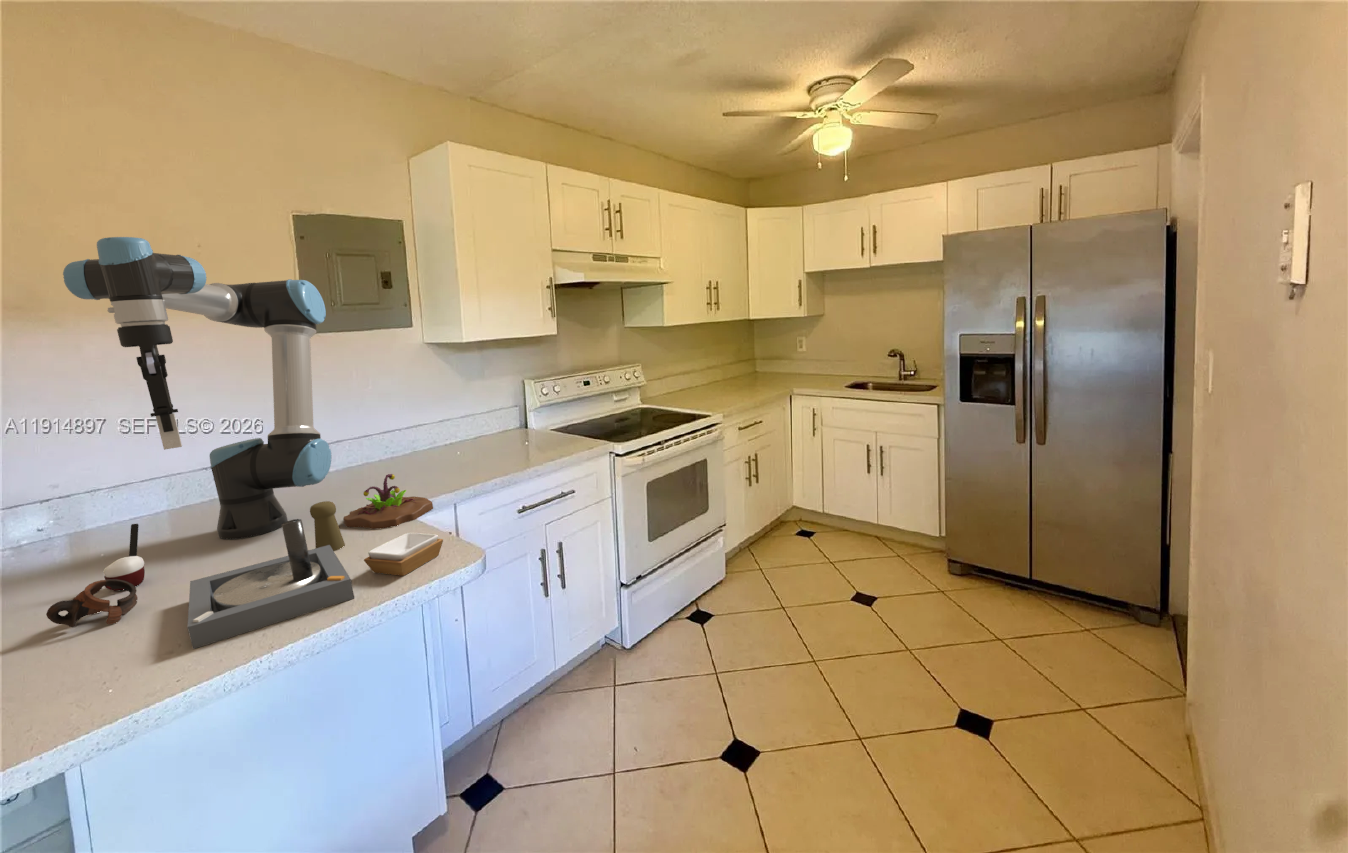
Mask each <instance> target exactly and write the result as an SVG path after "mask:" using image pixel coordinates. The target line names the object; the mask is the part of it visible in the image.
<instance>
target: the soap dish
mask: <svg viewBox="0 0 1348 853" xmlns="http://www.w3.org/2000/svg"><path fill="white" fill-rule="evenodd" d="M443 542H444V539H443V538H439V535H438V534H434V533H433V534H432V533H420V532H406V533H404V534H401V535H400V536H397V537H395V538H393V539H390V540H388V541H387V542H384V543H382V544H380V545H378V546H376V547H374V548H373V549H370V550H369V551H368V553H367V554H368V556H367V557H366V558H363V561H364V562H365V564H366V565H367V566H368V568H369V569H370V570H371V572H373V573H375V574H381V573H383V574H382V575H390V574H391V575H392V576H400V577H404V575H405V576H407V575H408V574H409V573H411V572H413V571H415V570H416V569H418V568H420V567H422V566H423V565H424V563H425V564H426V562H427V563H428V562H431V561H432V560H433V559H435V558H437V557H438V556H439V555H440V551H441V549H442V546H443ZM434 557H435V558H434Z"/></svg>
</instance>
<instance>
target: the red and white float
mask: <svg viewBox="0 0 1348 853" xmlns="http://www.w3.org/2000/svg"><path fill="white" fill-rule="evenodd" d="M139 526H140V525H139V523H131V524H130V537H129V550H128V551H129V553H128V554H129V555H128V556H125V557H121V558H118V559H116V560H114V561H113V562H112V563H110V564H109V565H107V566H106V567H105V568H104V569H103V571H102V573H103V574H104V576H103V577H104V580H106V579H118V580H124V581H127V582H129V583H131V584H133V585H134V586H137V585H138V586H140V585H141V584H142V583H143V582H144V579H145V571H146V570H145V561H144V559H143V557H141V556H138V540H139ZM139 584H140V585H139ZM138 586H137V587H138ZM104 588H105V589H107V590H109V591H114V592H115V591H117V590H123V589H125V588H123V589H114V590H112V589H111V588H110V587H109V586H104Z"/></svg>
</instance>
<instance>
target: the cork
mask: <svg viewBox="0 0 1348 853" xmlns="http://www.w3.org/2000/svg"><path fill="white" fill-rule="evenodd" d="M336 512H337V507H336V504H335V503H334V502H333V501H330V500H329V501H327V500H325V501H320V502H317V503H313V505H311V506H310V508H309V513H310V516H311V518H312V519H314V520H313V521H314V522H313V523H314V538H315V539H314V543H315V545H314V546H315V549H316V548H319V547H323V546H327V545H330V546H331V548H332V549H333V551H334V552H336V551H339V550H341V549H343V548H344V547H345V546H346V543H345V540H344V538H343V535H342V532H341V530H340V527H339V523H338V521H337V518H336V515H335V514H336ZM343 546H344V547H343ZM342 547H343V548H342ZM340 548H341V549H340Z"/></svg>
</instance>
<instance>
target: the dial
mask: <svg viewBox="0 0 1348 853" xmlns="http://www.w3.org/2000/svg"><path fill="white" fill-rule="evenodd" d="M303 525H304V524H303V520H302V519H300V518H297V519H290V520H288V521H287V522H284V523H282V527H281V529H282V532H283V537H284V542H285V547H286V550H287V551H286V552H287V556H289V561H290V562H287V563H281V564H276V565H271V566H267V567H263V568H260V569H257V570H254V571H250V572H248V573H245V574H243V575H240V576H238V577H236V578H233V579H231V580H229V581H228V582H226V583H224V584H223V585H221V586H220V587H219V588H218V589H216V591H215V592H214V595H213V596H214V600H215V605H216V608H217V609H218V610H221V611H222V610H226V609H229V608H233V607H236V606H240V605H243V604H246V603H250V602H253V601H257V600H260V599H264V598H267V597H270V596H274V595H277V594H281V593H284V592H288V591H291V590H294V589H298V588H301V587H305V586H308V585H312V584H315V583H319V582H320V581H321V579H322V574H321V570H320V566H319V565H318V564H317V563H314V562H310V558H309V553H308V550H309V549H308V543H307V539H306V536H305V534H306V533H305V530H304V529H305V528H304V526H303Z"/></svg>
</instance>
